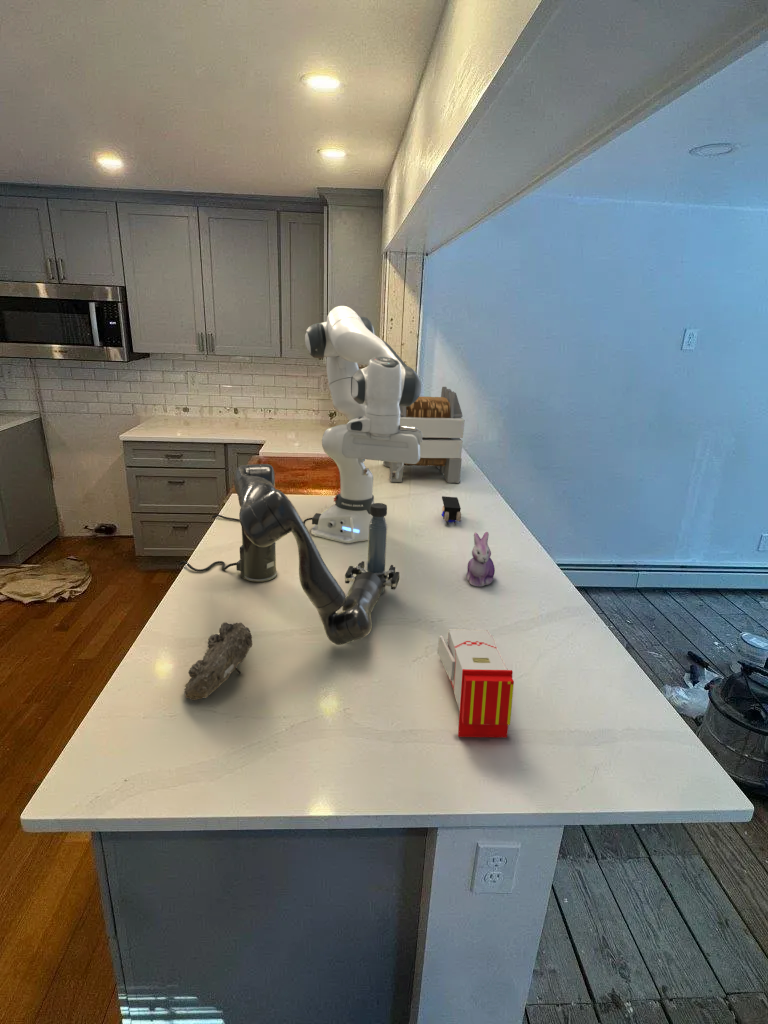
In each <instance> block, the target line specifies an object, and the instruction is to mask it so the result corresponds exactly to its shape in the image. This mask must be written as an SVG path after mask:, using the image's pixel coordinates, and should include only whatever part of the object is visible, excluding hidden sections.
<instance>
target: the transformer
mask: <svg viewBox="0 0 768 1024" xmlns="http://www.w3.org/2000/svg"><path fill="white" fill-rule="evenodd" d="M440 393H441V394H440V396H419V397H418V399H417V400H416V401H415V402H414V403H413V404H412V405H410V406H409V407H408V406H399V407H400V426H407V427H416V428H417V429H419V430H420V431H421V432H422V442H421V444H420V460H419V461H418V462H417V463H416V464H407V463H404V465H403V467H402V468H401V470H400V471H399V478H398V479H392V472H393V471H397V469H398V468H399V467H397V462H387V461H383V466H384V467H388V468H389V475H388V476H389V477H388V478H389V480H390V482H391V483H402V482H403V475H404V469H405V466H406V467H407V466H411V467H412V466H413V467H415V466H416V467H417V466H418V467H436V468H437V470H438V469H439V473H440V474H441V475H443V478H444V479H445V481H446V482H447V483H449V484H455V483H456V484H459V483H461V472H462V461H463V460H462V453H463V442H464V441H463V440H462V439H463V438H464V431H465V430H464V429H465V419H464V418H463V411H462V408H461V405H460V402H459V398H458V395H457V392H455V391H453V390H452V389H451V388H447V386H442V387H441V392H440ZM416 432H419V431H416Z"/></svg>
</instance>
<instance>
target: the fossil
mask: <svg viewBox="0 0 768 1024" xmlns="http://www.w3.org/2000/svg"><path fill="white" fill-rule="evenodd" d="M218 632H219V634H218V633H213V634H211V635H210V636H209V637H208V641H207V648H208V649H206V652H204V655H203V657H202V659H199V660H197V661H196V662H195V663H193V664H192V665H191V666H190V667H189V670H188V675H189V677H190V678H189V680H188V682H187V683H186V684H185V685H184V689H183V690H184V695H185V696H184V697H185V698H186V699H190V700H191V701H197V700H201V699H203V698H204V699H207V698H208V697H210V695H211V694H212V693H213V692H215V691H216V690H217V689H218V688H219V687H220V686H221V685H222V684H224V682H226V680H228V679H229V677H230V676H231V674H232V673H233V672H234V671H235V672H237V674H239V675H242V672H241V671H240V670H239V668H238V666H239V664H240V663H242V662H243V661H244V660H245V659H246V657H247V654H248V653H249V650H250V649H251V648H252V647H253V635H252V633H251V630H250V628H249V627H247V626H245V624H244V623H243V622H233V623H229V622H223V623H221V626H220V627H219V630H218Z"/></svg>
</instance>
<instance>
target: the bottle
mask: <svg viewBox="0 0 768 1024" xmlns="http://www.w3.org/2000/svg"><path fill="white" fill-rule="evenodd" d="M387 538H388V524H387V520H386V516H384V517H374V516H373V517H372V519H371V521H370V524H369V536H368V540H367V564H366V565H367V567H366V571H367V572H373V573H379V572H382V571H386V561H387V560H386V559H387ZM384 592H385V587H384V588H382V591H381V593H380V595H383V594H384Z"/></svg>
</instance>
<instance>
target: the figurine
mask: <svg viewBox="0 0 768 1024" xmlns="http://www.w3.org/2000/svg"><path fill="white" fill-rule="evenodd" d="M489 534H490V533H489V531H485V532H484V533H483V535H482V537H480V536H479V534H478V532H474V533H473V542H474V543H473V545H474V546H473V547H472V551H471V555H472V558H471V559H469V560H468V563H467V568H466V569H467V571H466V580H467V581H468V583H469V584H470V585H471V586H475V587H484V586H489V585H491V583H492V582H493V580H494V576H495V572H496V571H495V570H496V568H495V564H494V561H493V560H492V558H491V556H492V551H491V547H490V546H489V543H488V541H489V536H490V535H489Z"/></svg>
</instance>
